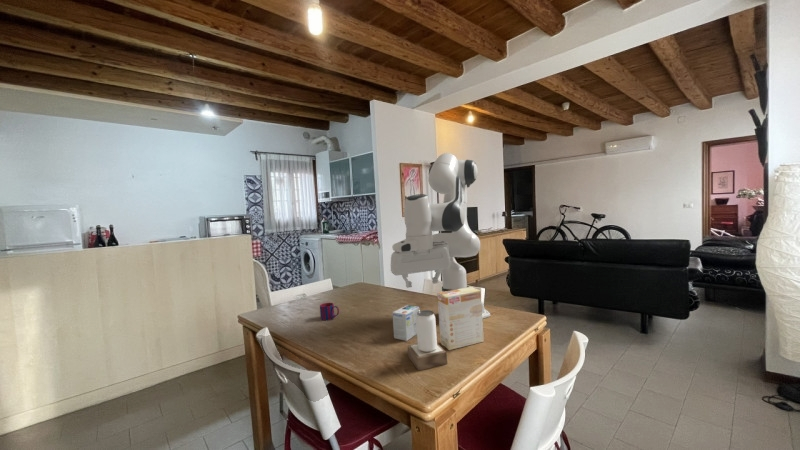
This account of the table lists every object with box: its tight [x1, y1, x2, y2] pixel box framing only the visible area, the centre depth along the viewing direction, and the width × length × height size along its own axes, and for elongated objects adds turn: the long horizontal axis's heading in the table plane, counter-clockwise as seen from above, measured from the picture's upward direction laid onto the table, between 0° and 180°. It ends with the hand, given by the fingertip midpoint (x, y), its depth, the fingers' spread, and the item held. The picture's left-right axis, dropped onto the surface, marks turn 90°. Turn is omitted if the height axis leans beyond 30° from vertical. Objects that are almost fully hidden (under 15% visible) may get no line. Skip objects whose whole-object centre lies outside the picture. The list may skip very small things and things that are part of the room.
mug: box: [319, 302, 340, 322], centre depth 151 cm, size 7×10×7 cm
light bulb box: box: [391, 304, 420, 342], centre depth 125 cm, size 11×7×11 cm, turn 145°
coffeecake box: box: [437, 286, 485, 351], centre depth 115 cm, size 15×7×20 cm, turn 110°
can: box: [416, 309, 438, 352], centre depth 103 cm, size 6×6×12 cm
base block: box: [407, 342, 448, 371], centre depth 103 cm, size 10×10×4 cm
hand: (422, 285), depth 102 cm, fingers open, 8 cm apart
